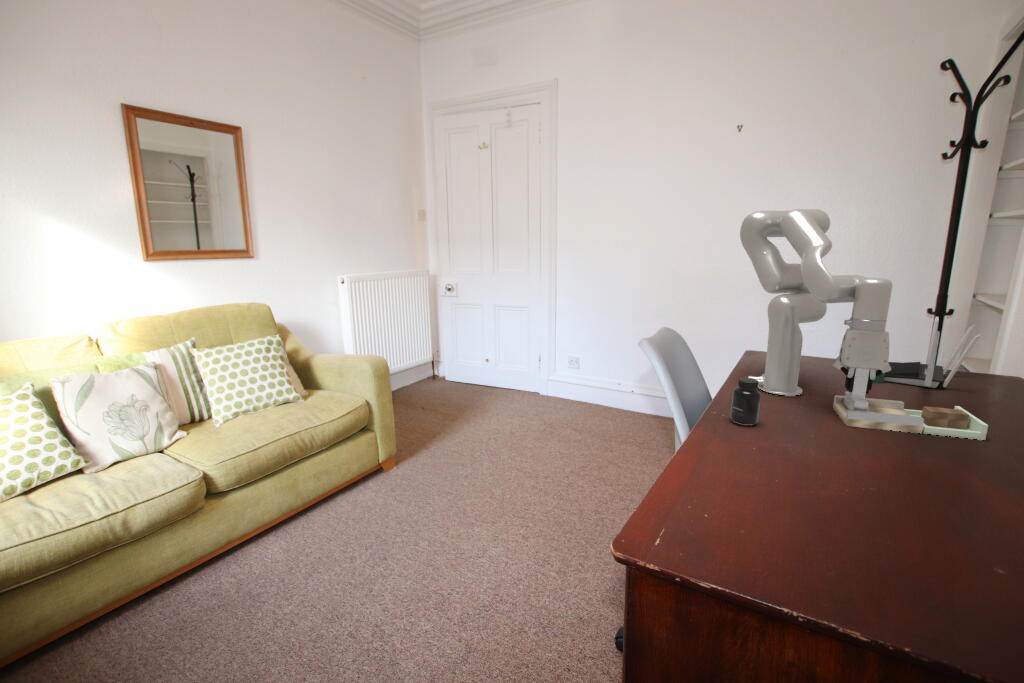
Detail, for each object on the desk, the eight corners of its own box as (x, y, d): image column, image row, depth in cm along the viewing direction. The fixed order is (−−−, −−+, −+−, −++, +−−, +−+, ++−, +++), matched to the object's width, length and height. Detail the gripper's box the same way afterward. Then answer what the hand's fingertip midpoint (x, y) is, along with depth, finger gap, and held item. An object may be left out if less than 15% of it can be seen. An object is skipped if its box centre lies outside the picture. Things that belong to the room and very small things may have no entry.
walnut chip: (927, 425, 123) (929, 411, 122) (920, 420, 127) (923, 406, 126) (946, 427, 122) (949, 413, 121) (939, 422, 125) (942, 407, 124)
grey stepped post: (853, 413, 126) (860, 366, 124) (843, 403, 135) (850, 358, 132) (866, 415, 125) (874, 367, 123) (856, 404, 134) (862, 359, 131)
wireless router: (883, 364, 184) (891, 313, 180) (964, 374, 169) (975, 319, 165) (875, 384, 159) (884, 326, 155) (969, 399, 144) (982, 334, 140)
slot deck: (846, 425, 125) (848, 411, 124) (832, 408, 138) (834, 395, 137) (921, 433, 120) (924, 418, 119) (900, 414, 132) (902, 401, 132)
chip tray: (923, 434, 119) (926, 419, 119) (902, 415, 132) (904, 401, 131) (985, 440, 115) (988, 425, 114) (956, 420, 128) (959, 406, 127)
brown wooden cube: (946, 427, 122) (949, 413, 121) (939, 422, 125) (942, 407, 124) (966, 429, 120) (969, 414, 119) (958, 424, 124) (961, 409, 123)
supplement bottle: (729, 424, 127) (732, 381, 125) (730, 416, 133) (734, 375, 131) (757, 428, 124) (762, 385, 122) (758, 420, 130) (762, 378, 128)
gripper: (835, 326, 124) (825, 392, 129) (911, 329, 119) (899, 399, 123) (827, 321, 131) (819, 384, 135) (899, 324, 126) (888, 390, 130)
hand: (857, 390), depth 129 cm, fingers closed on grey stepped post, 3 cm apart
